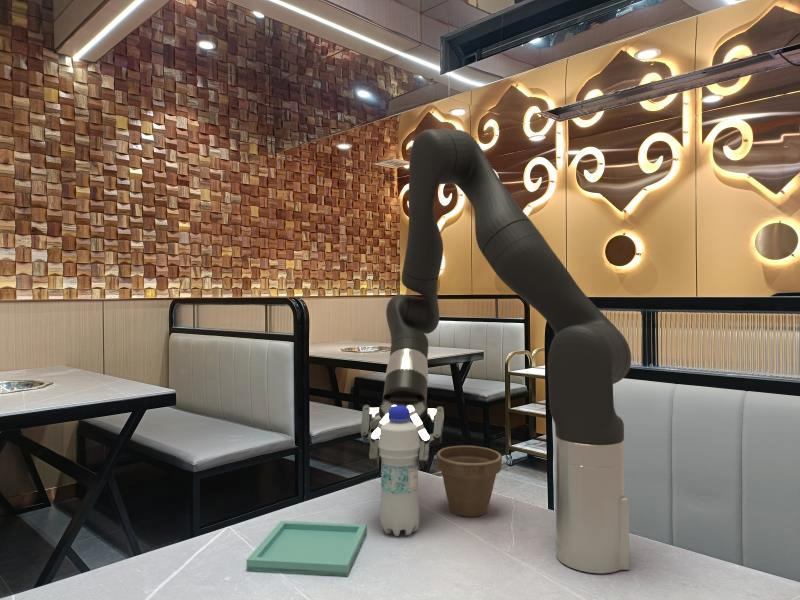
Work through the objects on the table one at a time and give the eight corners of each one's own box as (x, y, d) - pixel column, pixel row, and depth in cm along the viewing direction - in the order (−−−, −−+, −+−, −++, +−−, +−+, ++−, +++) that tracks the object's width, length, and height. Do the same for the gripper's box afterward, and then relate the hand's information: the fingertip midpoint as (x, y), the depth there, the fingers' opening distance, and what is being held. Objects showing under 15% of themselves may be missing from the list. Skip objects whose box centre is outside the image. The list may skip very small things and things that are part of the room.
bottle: (416, 540, 86) (416, 409, 87) (374, 537, 88) (373, 408, 88) (423, 524, 93) (423, 402, 93) (384, 521, 94) (383, 401, 95)
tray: (366, 534, 89) (366, 524, 89) (347, 576, 75) (347, 565, 75) (280, 530, 91) (280, 520, 91) (246, 570, 77) (246, 559, 77)
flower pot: (507, 523, 93) (507, 462, 93) (438, 523, 93) (438, 462, 93) (496, 499, 105) (495, 445, 105) (434, 499, 105) (434, 445, 105)
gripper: (363, 366, 99) (349, 451, 87) (446, 367, 97) (443, 454, 85) (369, 392, 104) (356, 475, 92) (447, 393, 102) (444, 478, 91)
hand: (398, 464), depth 89 cm, fingers closed on bottle, 6 cm apart
